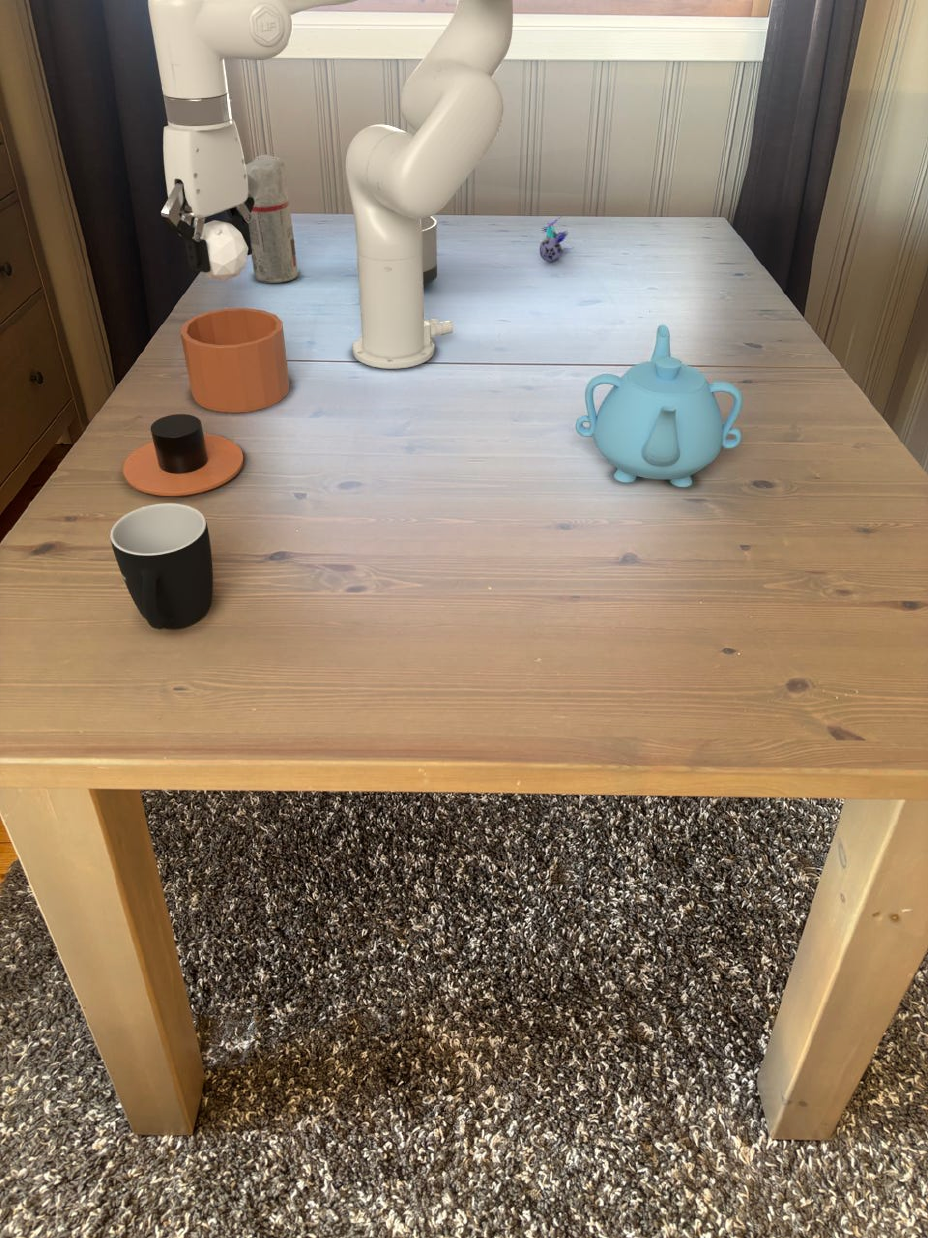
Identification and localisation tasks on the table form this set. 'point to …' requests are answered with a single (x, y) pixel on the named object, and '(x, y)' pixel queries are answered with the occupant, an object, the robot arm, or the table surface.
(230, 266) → the ornament
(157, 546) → the mug
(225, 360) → the orange hollow cylinder
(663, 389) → the teapot
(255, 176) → the spray can
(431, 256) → the planter
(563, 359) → the table surface
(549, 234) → the figurine
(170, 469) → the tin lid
